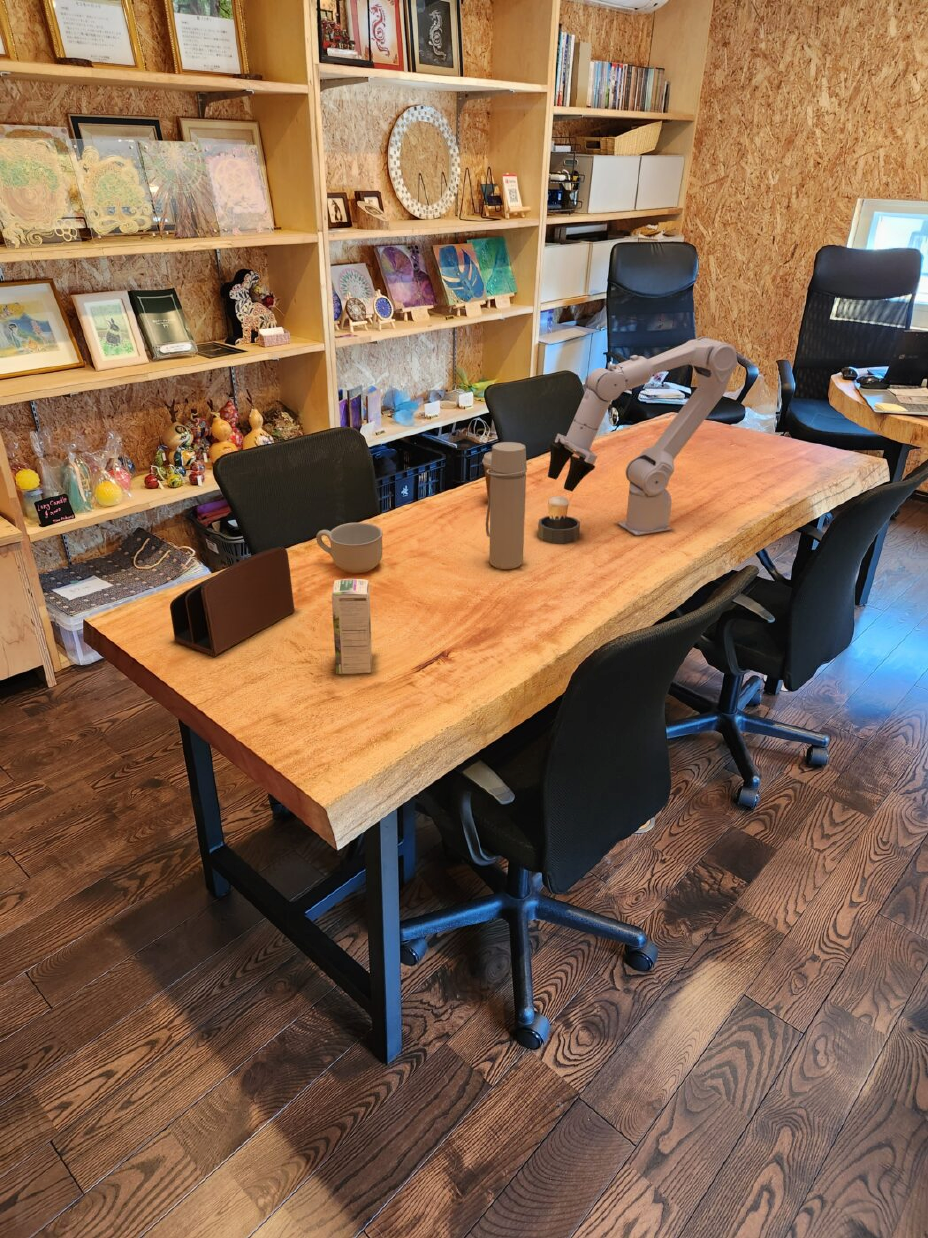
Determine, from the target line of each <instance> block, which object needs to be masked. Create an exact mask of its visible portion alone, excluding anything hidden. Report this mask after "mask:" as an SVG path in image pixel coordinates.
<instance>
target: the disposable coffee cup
mask: <svg viewBox="0 0 928 1238" xmlns="http://www.w3.org/2000/svg"><path fill="white" fill-rule="evenodd" d="M491 457H492V451H488V452H485V454H484V455H483V459H482V464H483V469H484V477H485V487H486V494H487V499H488V498H489V489H490V479H491V475H490V474H488V473H487V472H486V471H487V470H488V469H490V468H489V467H490V466H491ZM488 472H489V473H490V471H488Z"/></svg>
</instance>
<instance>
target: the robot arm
mask: <svg viewBox="0 0 928 1238" xmlns="http://www.w3.org/2000/svg"><path fill="white" fill-rule="evenodd" d="M686 365H690V366H692V368H693V371H694V373H695V375H696V381H697V387H696V389H695V390H694V391H693V393H692V394H691V396H690V397H689V398H688V399H687V400H686V402H685V403H684V404H683V406H682V407H681V409H679V411H678V413H677V414H676V415H675V417H674V418H673V419H672V421H671V422H670V423H669V425H668V426H667V428H666V429H665V430H664V431H663V432H662V434H661V435H660V436H659V438H658V439H657V441H656V442H655V443H654V444H653V445H652V446H650V447H647V448H645V449H643V450H642V451H641V452H640V454H639V455H638V456H636V457H634V458H633V459H631V460H630V461H629V462H628V464H627V465H626V468H625V477H626V479H627V481H628V482H629V488H628V497H627V498H628V499H627V506H626V507H627V508H626V517H625V518H626V519H625V520H623V521H619V522H617V525H618V526H620V527H622V528H623V529H624V530H626V531H628V532H630V533H631V534H633V535H634V536H642V535H649V534H654V533H660V532H661V533H662V532H666V531H670V530H671V527H670V520H671V512H672V503H673V502H672V495H671V493H670V492H669V491H668V489H667V487H668V485H669V481H670V478H671V477H672V475H673V474H674V472H675V465H674V462H675V461H674V460H675V459H676V458H677V457H678V455H679V454H680V453H681V451H682V450H683V448H684V447H685V446H686V445H687V443H689V440H690V439H691V438H692V437H693V435H694V434H695V433H696V432H697V430H698V429H699V427H701V425H702V424H703V422H704V421H705V420H706V419H707V417H708V416H709V415H710V414H711V412H712V410H713V409H714V408H715V406H716V405H717V404H718V403H719V402H720V400H721V399H722V398H723V396H725V395H724V394H725V393H726V391H727V387H728V384H729V382H730V378H731V375H732V373H734V371H735V370H736V368H737V367H738V365H739V364H738V356H737V350H736V348H735V347H734V346H733V344H731V343H729V342H723V341H719V340H716V339H713V338H711V337H709V336H699V337H698V338H696V339H689V340H688V341H686V342H685V343H683V344H681V345H678V346H676V347H674V348H671V349H669V350H667V351H664V352H661V353H660V354H657V355H654V356H652V357H650V358H646V357H645V356H642V355H638V354H637V355H636V354H633V355H631V356H629V359H628V360H624V361H622V362H620V363H617V364H615V363H611V364H609V365H608V366H609V367H608V368H603V367H598V368H595V369H593V370H592V371H591V373H589V374H588V375H586V376H585V378H584V385H585V386H584V387H585V392H584V395H583V396H582V399H581V401H580V404H579V406H578V408H577V411H576V413H575V415H574V418H573V420H572V422H571V424H570V427H569V428H568V431H567V434H566V435H563V434H561V433H557V434H556V436H555V440H554V443H555V444H554V443H550V445H549V451H550V452H549V453H550V458H549V459H550V460H549V466H548V470H547V471H548V472H547V477H548V478H549V479H551V480H552V479H553V480H558V478H559V477H560V475H561V473H562V471H563V469H564V467H565V466H566V464H567V463H568V461H569V468H568V472H567V476H566V478H565V481H564V484H563V490H565V491H569V492H573V491H574V490H575V489H576V488H577V486H578V485H579V484H580V483H581V482H582V480H583V479H584V478H585V477H586V476H587V475H588V474H589V473H591V472H592V471H594V470H595V468H596V465H595V463H596V460H597V458H598V455H596V454H595V453H594V452H593V451H592V450H591V448H592V445H593V443H594V440H595V438H596V437H597V435H598V431H599V430H600V428H601V424H602V422H603V421H604V418H605V416H606V413H607V411H608V409H609V407H610V404H611V403H612V401H616V400H617V399H618V398H619V397H620V396H621V394H622V393H623V392H626V391H629V390H632V389H634V388H637V387H641V386H643V385H645V384H648V383H649V382H650V381H651V379H652V377H653V375H657V374H660V373H663V372H666V371H670V370H673V369H676V368H679V367H682V366H686ZM574 455H576V456H574Z"/></svg>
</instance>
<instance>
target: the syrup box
mask: <svg viewBox="0 0 928 1238" xmlns="http://www.w3.org/2000/svg"><path fill="white" fill-rule="evenodd" d="M332 586H333V587H332V593H331V607H332V624H333V625H332V626H333V628H332V629H333V642H334V644H333V645H334V658H335V659H334V660H335V673H336V674H337V675H354V674H371V673H372V658H373V650H372V649H373V646H372V645H373V644H372V622H371V621H372V620H371V619H372V618H371V597H370V580H369V579H360V578H345V579H343V578H342V579H336V580H334V581H333V585H332Z"/></svg>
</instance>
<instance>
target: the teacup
mask: <svg viewBox="0 0 928 1238" xmlns="http://www.w3.org/2000/svg"><path fill="white" fill-rule="evenodd" d="M323 536H326V537H327V539H328V540H329V543H330V546H328V545H327V544H326V543H325V542H324V541H323V538H322V537H323ZM315 540H316V543H317V546H318V547H319V548H320V549H322V551H324V552H325V553H327V554H329V555H330V557H331V559H332V561H333V563H334V565H336V567H338V568H339V569H340V570H342V571H343V572H346V573H348V574H355V575H356V574H364V573H365V574H366V573H369V572H370V571H372V570H373V569H374V568H375V567H377V566H378V565H379V563H380V562H381V561H382V559H383V558H382V557H383V529H382V528H380V527H379V526H377V525H376V524H373V523H368V522H348V523H343V524H339V525H338V526H336V527H334V528H332V529H331V530H328V529H322V530H319V531H318V532H317V534H316V537H315Z"/></svg>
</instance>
